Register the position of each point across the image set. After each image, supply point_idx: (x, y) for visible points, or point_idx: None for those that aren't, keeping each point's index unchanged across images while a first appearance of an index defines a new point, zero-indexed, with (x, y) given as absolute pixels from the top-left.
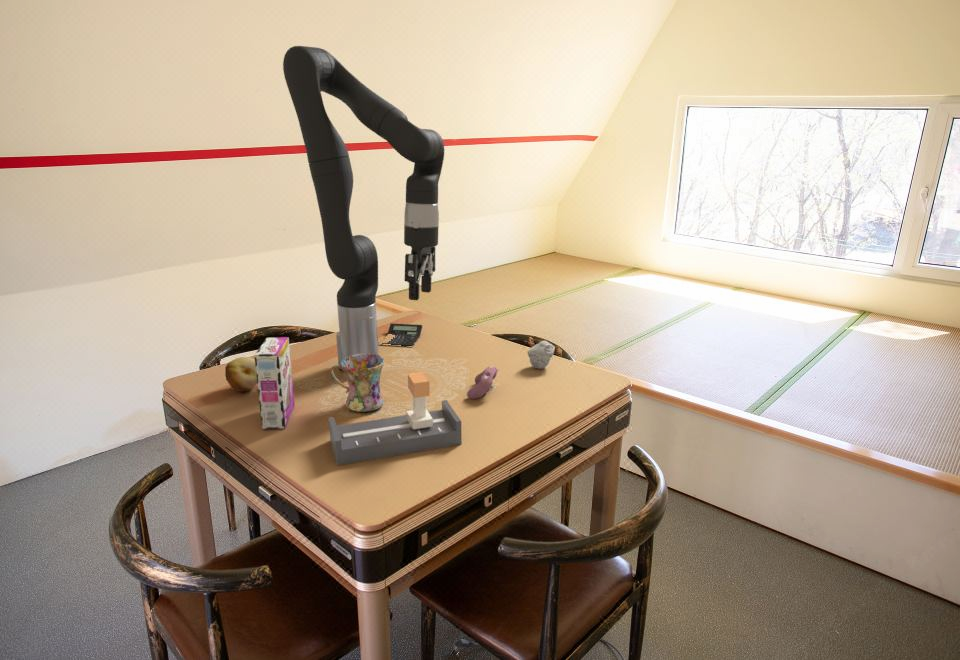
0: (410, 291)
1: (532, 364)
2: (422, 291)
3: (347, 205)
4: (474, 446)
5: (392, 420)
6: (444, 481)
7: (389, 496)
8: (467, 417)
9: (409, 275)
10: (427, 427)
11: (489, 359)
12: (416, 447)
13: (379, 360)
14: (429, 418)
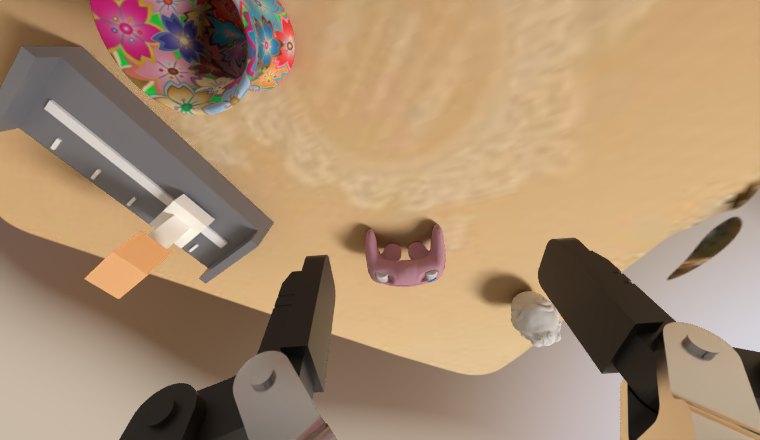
0: (277, 310)
1: (517, 297)
2: (549, 242)
3: None
4: (230, 272)
5: (169, 166)
6: None
7: (59, 219)
8: (303, 244)
9: (250, 437)
10: None
11: (569, 216)
12: None
13: (242, 78)
14: (178, 243)
